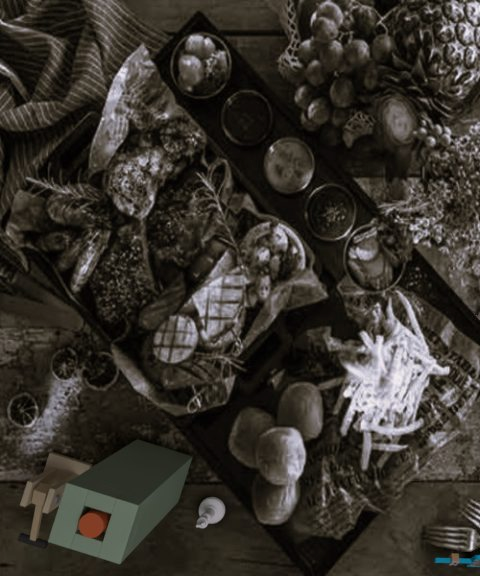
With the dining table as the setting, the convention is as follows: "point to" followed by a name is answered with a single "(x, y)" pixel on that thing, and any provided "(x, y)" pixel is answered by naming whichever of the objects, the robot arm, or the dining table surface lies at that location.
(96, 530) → the button
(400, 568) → the dining table surface
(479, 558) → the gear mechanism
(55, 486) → the switch bracket
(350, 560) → the dining table surface
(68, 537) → the button post
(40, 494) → the lever
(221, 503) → the chess piece
